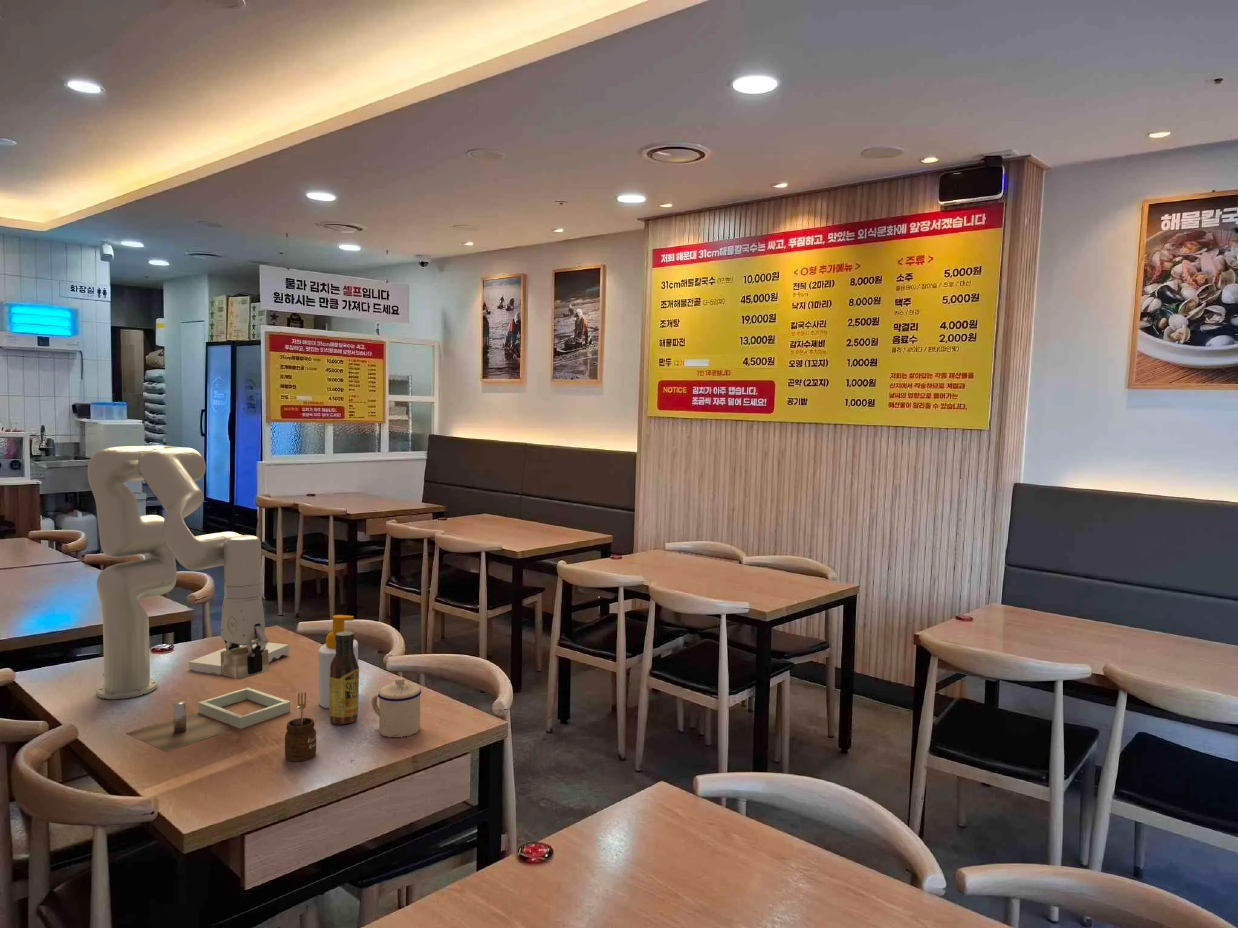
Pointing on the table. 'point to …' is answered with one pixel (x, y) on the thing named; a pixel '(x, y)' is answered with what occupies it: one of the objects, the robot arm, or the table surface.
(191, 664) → the cream wavy-edged slab
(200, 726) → the stake board
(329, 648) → the soap bottle
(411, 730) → the teacup with lid
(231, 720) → the tray
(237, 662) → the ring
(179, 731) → the cylinder
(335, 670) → the sauce bottle
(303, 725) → the utensil holder
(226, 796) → the table surface
